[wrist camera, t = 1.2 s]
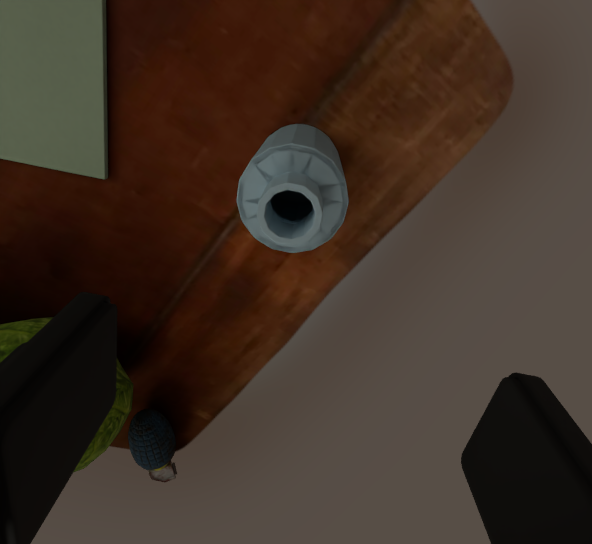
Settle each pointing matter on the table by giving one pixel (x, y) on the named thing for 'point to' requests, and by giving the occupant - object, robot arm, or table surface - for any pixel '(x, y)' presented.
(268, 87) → the table surface
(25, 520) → the robot arm
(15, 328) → the lettuce
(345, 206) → the bottle
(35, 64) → the mat
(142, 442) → the hand grenade
